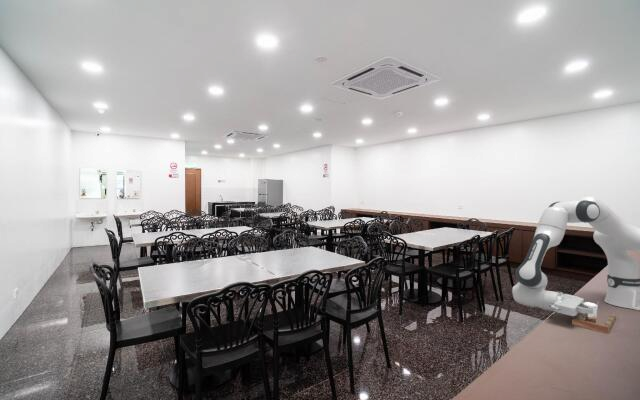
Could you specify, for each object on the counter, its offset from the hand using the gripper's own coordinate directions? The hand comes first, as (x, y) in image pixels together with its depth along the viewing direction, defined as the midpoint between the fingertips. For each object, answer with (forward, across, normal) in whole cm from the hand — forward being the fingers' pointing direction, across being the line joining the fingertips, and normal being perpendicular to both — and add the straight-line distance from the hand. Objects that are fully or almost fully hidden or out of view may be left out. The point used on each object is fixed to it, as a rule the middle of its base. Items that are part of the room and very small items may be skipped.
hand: (594, 310), depth 127 cm
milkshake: (-1, 0, +6) cm, 7 cm away
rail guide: (-1, +7, +7) cm, 10 cm away
